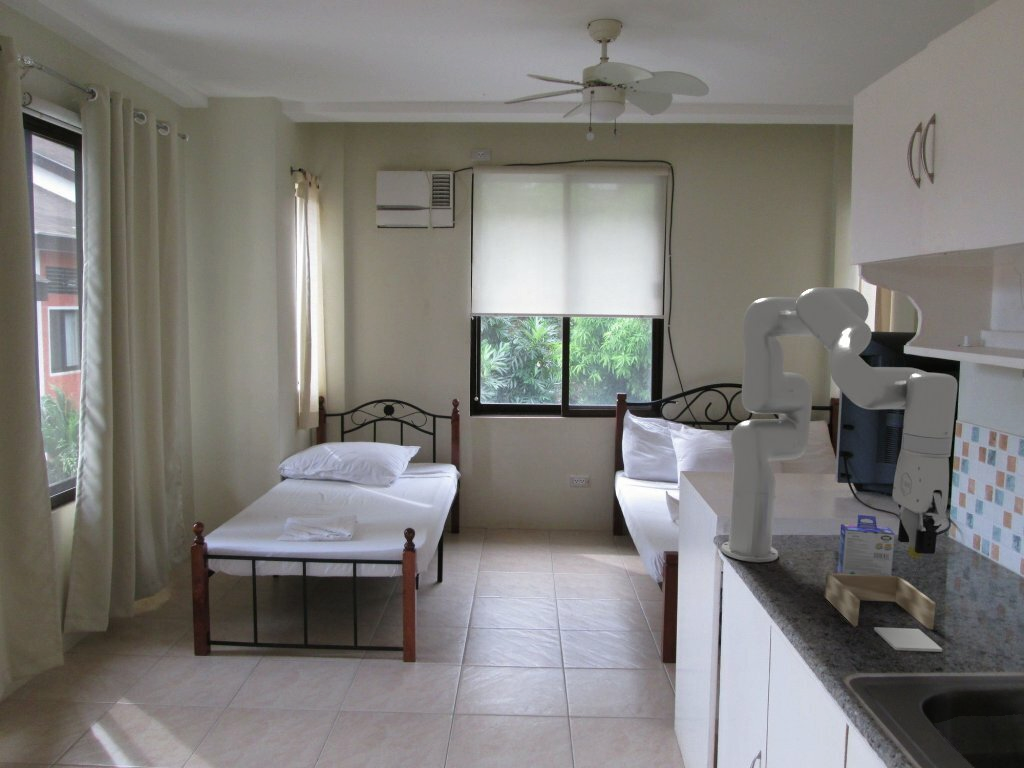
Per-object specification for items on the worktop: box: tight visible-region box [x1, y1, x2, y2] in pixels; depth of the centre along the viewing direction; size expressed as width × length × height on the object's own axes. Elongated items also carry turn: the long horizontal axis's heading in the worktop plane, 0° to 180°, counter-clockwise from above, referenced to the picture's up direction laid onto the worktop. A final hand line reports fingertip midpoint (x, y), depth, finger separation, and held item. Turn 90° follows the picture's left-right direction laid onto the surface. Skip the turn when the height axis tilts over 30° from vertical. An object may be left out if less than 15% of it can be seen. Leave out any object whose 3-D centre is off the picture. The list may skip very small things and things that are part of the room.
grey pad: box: [873, 626, 943, 653], centre depth 137 cm, size 8×8×1 cm
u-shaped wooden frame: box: [824, 572, 936, 630], centre depth 149 cm, size 14×15×5 cm
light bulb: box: [901, 508, 932, 560], centre depth 135 cm, size 6×5×10 cm
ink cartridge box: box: [837, 514, 896, 576], centre depth 163 cm, size 10×6×14 cm, turn 79°
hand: (915, 546), depth 135 cm, fingers closed on light bulb, 5 cm apart
